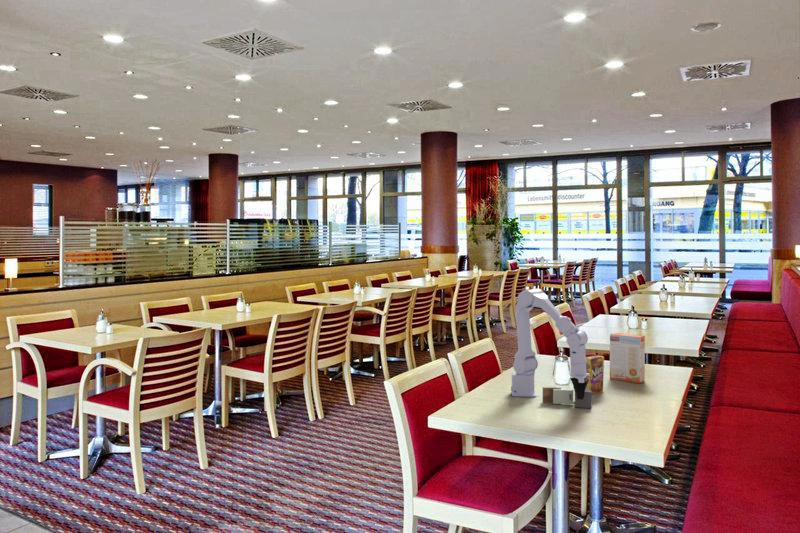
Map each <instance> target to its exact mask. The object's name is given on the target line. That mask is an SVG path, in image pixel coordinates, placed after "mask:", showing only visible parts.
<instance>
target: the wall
mask: <svg viewBox="0 0 800 533" xmlns="http://www.w3.org/2000/svg"><path fill="white" fill-rule="evenodd" d="M553 389H562V387H560V386H559V387H557V386H556V387H555V386H543V387H542V403H543V404H553ZM572 405H575V401H573V404H572Z"/></svg>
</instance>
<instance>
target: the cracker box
mask: <svg viewBox="0 0 800 533" xmlns="http://www.w3.org/2000/svg"><path fill="white" fill-rule="evenodd" d="M645 355H646V336H645V335H643V334H642V335H639V334H631V333H622V332H613V333H610V334H609V379H611V380H616V381H621V382H627V383H629V382H630V383H634V384H635V383H636V384H641V383H643V382H645V381H646V380H645V376H646V374H645V372H646V369H645V364H646V363H645V362H646V361H645V360H646V359H645V358H646V356H645Z"/></svg>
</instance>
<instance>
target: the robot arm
mask: <svg viewBox="0 0 800 533" xmlns="http://www.w3.org/2000/svg"><path fill="white" fill-rule="evenodd" d="M534 307H535V308H541V309H542V310H543V311H544V313H546V314H547V315H548V316H549V317H550V318H551V319H552V320H553V321H554V322H555V324H554V326H555V327H556V329H557V330H558V331H560V333H561V334H562V335H563V336H564V337H565V338H566V343H567V345H568V347H569V357H570V358H569V360H570V378H569V379H570V381H571V384H572V385H573V392H575V390H576V395H577V399H583V398H584V393H585V388H586V386H587V384H588V381H585V377H586V376H590V374H589V373H586V357H587V356H586V345H587V343H588V341H589V340H588V339H589V336H588V334H587V333H586V331H584V330H583V329H580V328H579V326H576V325H575V324H574V323H573V322H572V319H571V318H570V317H568V316H565V315H564V316H563V315H562V314H561V313H560V311H559V310H558V308H556V306H555V305H554V304H553V303H552V302H551V300H549V297H548V295H547V294H546V293H545V292H544V291H543V290H542V289H540V288H539V287H538V288H534V289H532V288H531V289H523V290H522V291H521V292H519V293H518V295H517V302H516V306H515V320H516V322H515V323H516V337H517V338H516V339H517V352H516V353H515V354H514V361H513V363H512V365H513V366H512V368H513V369H514V372H512V373H511V386H510V391H511V397H525V398H526V397H527V398H529V397H530V398H531V397H532V398H536V397H537V395H536V391H535V374H536V369H538V366H539V364H538V363H539V362H538V359H537V357H536V353H535V351H534V350H533V348H532V335H531V320H530V311H532V309H533V308H534Z"/></svg>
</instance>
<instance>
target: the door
mask: <svg viewBox="0 0 800 533" xmlns="http://www.w3.org/2000/svg"><path fill="white" fill-rule="evenodd" d="M573 402H574V389H562V388H561V389H553V403H552V405H553V404H554V405H574V404H573Z"/></svg>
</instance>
